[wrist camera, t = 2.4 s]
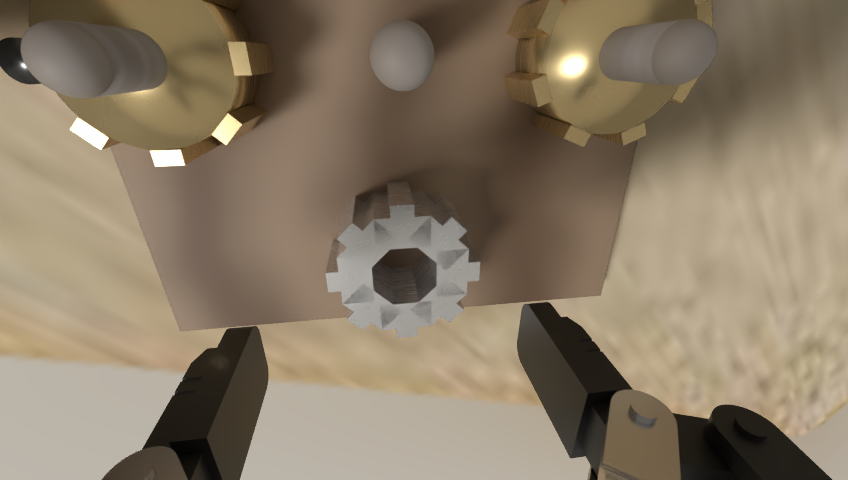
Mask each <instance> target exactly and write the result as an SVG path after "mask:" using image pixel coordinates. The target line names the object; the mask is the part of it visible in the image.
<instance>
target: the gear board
mask: <svg viewBox="0 0 848 480" xmlns="http://www.w3.org/2000/svg"><path fill="white" fill-rule="evenodd" d="M537 1H540V0H243V2H242V3H241V5H240V6H239V8H238V9H237V11H236V10H235V12H236V13H237V14H238V15H239V17H240V18H241V19H242V21H243V22H244V24H245V26H246V27H247V29H248V31H249V33H250V35H251V37H252V39H253V42H254V43H259V44H266V45H270V46H271V52H272V58H273V64H274V70H275V72H272V73H265V74H260V81H259V88H258V92H257V95H256V98H255V100H254V103H255V104H257V105H258V106H259V107H260V108H261V109H263V110H264V111H265V112H266V113H265V114H264V116H263V117H262V118H261V119H260V121H259V122H258V123H257V125H256V126H255V127H254V128H253V130H251V131H249V132H248V133H246V134H244V135H243V136H241V137H239V138H238V139H236V140H234V141H233V142H231V143H229V144H228V145H225V144H224V143H222V142H221V141H220V140H218V139H217V142H218V147H216V148H214V149H212V150H211V151H209V152H207V153H205V154H204V155H202V156H200V157H198V158H197V159H195V160H193V161H191V162H190V163H188V164H186V165H179V166H155V164H154V161H153V158H152V155H151V152H150V151H152V150H149V149H142V148H138V147H134V146H130V145H127V144H125V143H120V144H117V145H114V146H111V150H112V152H113V155H114V158H115V160H116V163H117V166H118V168H119V171H120V174H121V176H122V179H123V182H124V184H125V187H126V189H127V192H128V195H129V197H130V200H131V203H132V205H133V208H134V211H135V213H136V216H137V219H138V221H139V224H140V227H141V229H142V232H143V234H144V237H145V240H146V242H147V245H148V248H149V250H150V253H151V256H152V258H153V261H154V264H155V266H156V269H157V271H158V274H159V277H160V279H161V282H162V285H163V287H164V290H165V293H166V295H167V298H168V301H169V303H170V306H171V308H172V311H173V314H174V316H175V319H176V322H177V324H178V327H179V330H180V331H190V330H201V329H213V328H225V327H236V326H248V325H260V324H271V323H283V322H295V321H307V320H318V319H330V318H342V317H347V313H348V307H346V306H345V305H343V303H342V296H341V291H340V292H328V287H327V280H326V274H325V273H326V268H327V264H328V259H329V254H330V250H331V245H332V241H333V240H337V235H338V230H339V225H340V220H341V215H342V210H343V209H344V208H345V207H346V206H347V205H348V204H349V203H350V201H351V200H352V199H353V198H354V197H355V196H356V197H357V198H358V199H360V200H361V201H362V202H363V203H365V202H366V201H367V200H368V199H369V197H370V196H371V195H372V194H373V193H388V191H387V182H391V181H408V185H409V188H410V191H422V192H424V193H425V194H426V195H427V196H428V197H429V198H430V199H431V200H432V199H433V198H434V197H435V196H436V195H437V194H438V192H440V193H441V194H442V195H443V196H444V197H445V198H446V199H447V200H449V201H450V202H451V203H452V204H453V206H454V208H455V209H456V211H457V213H458V215H459V217H460V218H461V220H462V222H463V224H464V226H465V228H466V229H467V232H466V233H465V234H466V236H467V238H468V240H469V242H470V244H471V245H472V247H473V249H474V251H475V253H476V255H477V257H478V259H479V260H480V274H479V281H468V282H467V294H466V295H465V296H464V297H463V298H462V299H461V303H462V305H463V307H470V306H482V305H494V304H506V303H517V302H529V301H541V300H552V299H564V298H576V297H587V296H599V295H601V292H602V288H603V283H604V279H605V275H606V271H607V266H608V262H609V258H610V254H611V250H612V245H613V241H614V237H615V233H616V228H617V224H618V220H619V216H620V212H621V207H622V203H623V199H624V195H625V190H626V186H627V182H628V178H629V174H630V169H631V165H632V161H633V157H634V152H635V148H636V144H637V140H638V139H637V140H635V141H633V142H630V143H628V144H626V145H624V146H623V145H620V144H617V143H614V142H611V141H608V140H606V139H603V138H600V137H597V136H594V135H590V137H589V139H588V141H587V143H586V144H585V146H584V147H582V146H580V145H577V144H575V143H573V142H570V141H568V140H566V139H563V138H561V137H558V136H556V135H554V134H551V133H549V132H547V131H544V130H542V129H540V128H537V127H535V126H533V125H532V124H533V122H534V120H535V118H536V116H537V114H539V113H538V112H536V111H535V110H534V109H533V108H532V107H531V106H530V105H529V104H526V103H522V102H519V101H515V100H512V99H510V98H509V95H508V92H507V88H506V85H505V82H504V78H503V77H505V76H507V75H509V74H511V73H513V72H516V69H515V56H516V49H517V44H518V40H519V39H516V38H514V37H512V36H510V35H508V34H507V31H508V29H509V27H510V24H511V22H512V20H513V17H514V15H515V12H516V10H517V8H520V7H523V6H526V5H529V4H532V3H534V2H537ZM716 51H717V37H716V34H715V32H714V30H713V29H712V28H711V27H710V26H709V25H708V24H707V23H705V22H703V21H701V20H697V19H683V20H675V21H667V22H659V23H651V24H643V25H635V26H627V27H622V28H619V29H617V30H615V31H614V32H612V33H611V34H610V35H609V36H608V37H607V39H606V40H605V41H604V43H603V45H602V47H601V50H600V54H599V66H600V69H601V71H602V73H603V74H604V75H605V76H606V77H607V78H609V79H611V80H617V81H628V82H639V83H650V84H661V85H680V84H684V83H687V82H690V81H692V80H694V79H695V78H697V77H698V76H700V75H701V74H702V73H703V72H704V71H705V70H706V69H707V68H708V67H709V66H710V64H711V63H712V61H713V59H714V57H715V54H716ZM21 55H22V58H23V61H24V63H25V65H26V67H27V68H28V70H29V71H30V72H31V74H32V75H33V76H34V77H35V78H36V79H37V80H38V81H39V82H41V83H42V84H43V85H45V86H46V87H48V88H49V89H51V90H53V91H55V92H57V93H60V94H62V95H65V96H69V97H74V98H94V97H101V96H108V95H116V94H123V93H130V92H137V91H144V90H151V89H154V88H157V87H158V86H160V85H161V84H162V83H163V82H164V80H165V78H166V76H167V71H168V66H167V60H166V57H165V55H164V53H163V51H162V49H161V48H160V46H159V45H158V44H157V43H156V42H155V41H154V40H153V39H152V38H151V37H149V36H148V35H147V34H145V33H143V32H141V31H138V30H135V29H129V28H121V27H113V26H104V25H96V24H88V23H80V22H72V21H64V20H47V21H43V22H39V23H37V24H35V25H33V26H31V27H30V28H29V29H28V30H27V31H26V32H25V34H24V35H23V38H22V41H21ZM424 255H425V253H424V252H422V251H421V250H420V249H419V248H404V249H390V250H389V251H388V252H387V253H386V254H385V255H384V256H383V257H382V258H381V259H380V260H379V261H381V262H382V263H383V264H385V265H386V266H387V267H389V268H403V267H412V266H413V265H414V264H415V263H416V262H418V261H419V260H420V259H421V258H422V257H423V256H424Z"/></svg>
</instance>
